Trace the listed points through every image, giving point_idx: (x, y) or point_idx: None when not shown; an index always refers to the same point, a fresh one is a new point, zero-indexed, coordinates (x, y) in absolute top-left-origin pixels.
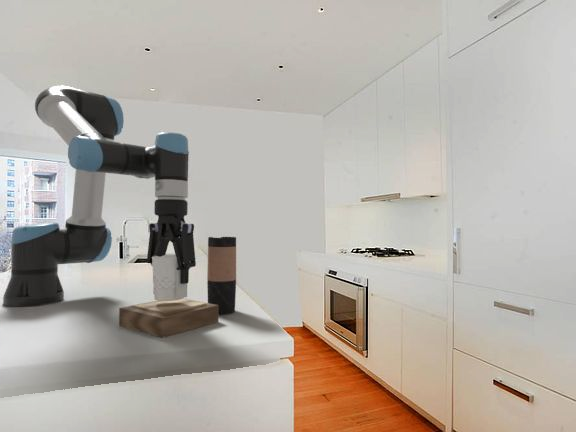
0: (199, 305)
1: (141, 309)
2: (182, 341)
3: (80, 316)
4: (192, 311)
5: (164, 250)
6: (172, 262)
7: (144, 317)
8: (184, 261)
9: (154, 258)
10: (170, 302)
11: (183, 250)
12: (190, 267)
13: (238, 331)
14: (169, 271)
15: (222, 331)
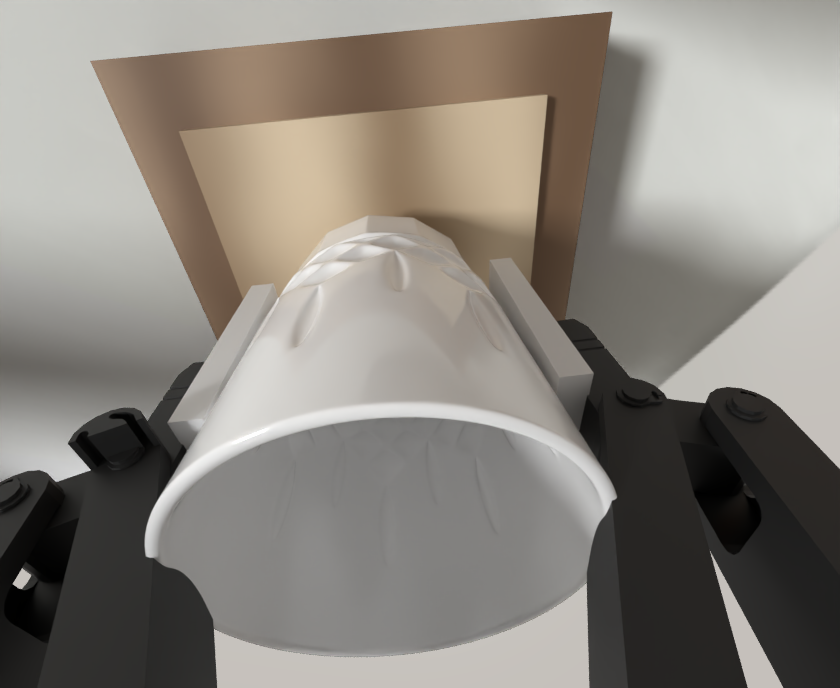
0: (539, 167)
1: None
2: (615, 331)
3: (29, 421)
4: (573, 256)
5: (169, 661)
6: (551, 541)
7: None
8: (708, 518)
9: (397, 641)
10: None
11: (791, 666)
12: (690, 410)
13: (761, 96)
14: (508, 480)
15: (685, 154)
